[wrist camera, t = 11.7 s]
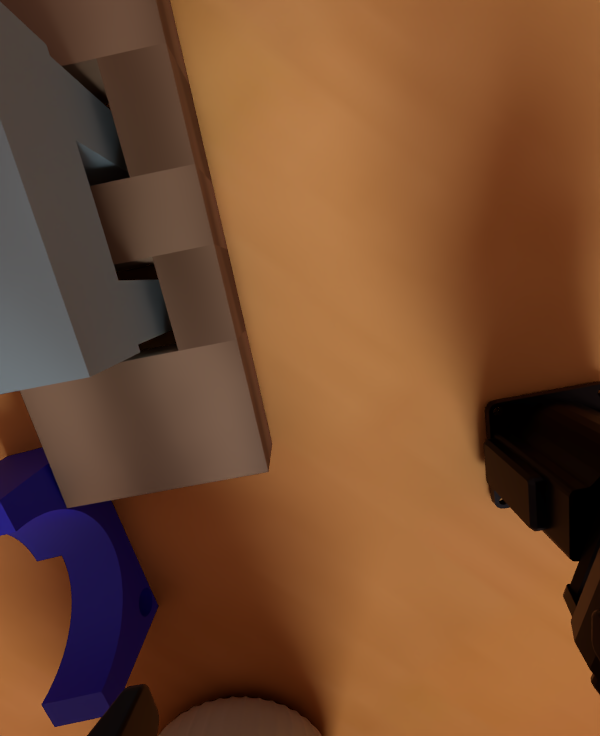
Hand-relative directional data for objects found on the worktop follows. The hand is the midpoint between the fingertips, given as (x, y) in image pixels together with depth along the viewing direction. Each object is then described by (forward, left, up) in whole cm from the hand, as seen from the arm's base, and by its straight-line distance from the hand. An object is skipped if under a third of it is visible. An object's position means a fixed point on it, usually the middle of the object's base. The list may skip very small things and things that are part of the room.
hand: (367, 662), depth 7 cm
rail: (+8, -11, -13) cm, 19 cm away
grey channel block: (+8, -11, -13) cm, 19 cm away
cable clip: (+15, +5, -13) cm, 21 cm away
